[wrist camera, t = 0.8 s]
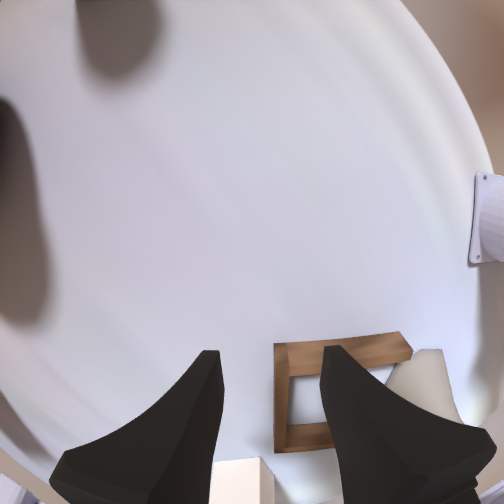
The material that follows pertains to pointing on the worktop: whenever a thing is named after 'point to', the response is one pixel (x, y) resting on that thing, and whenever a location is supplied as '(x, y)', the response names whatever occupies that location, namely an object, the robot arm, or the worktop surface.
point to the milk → (242, 482)
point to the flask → (425, 383)
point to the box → (310, 362)
